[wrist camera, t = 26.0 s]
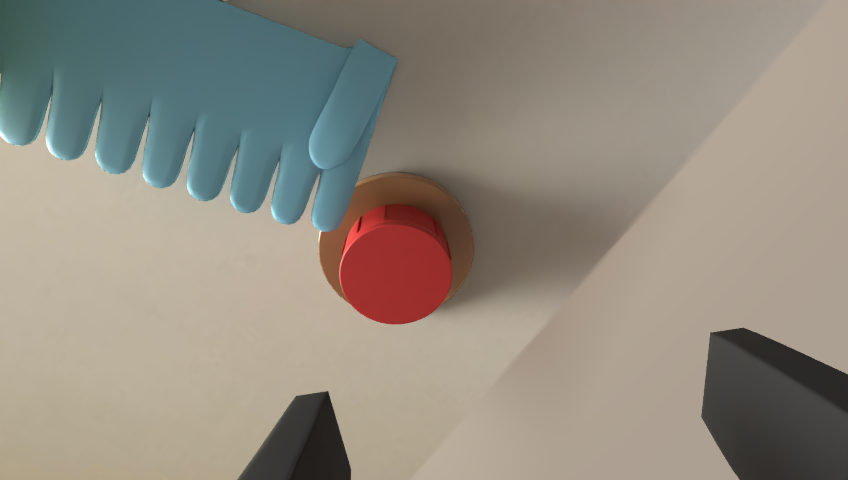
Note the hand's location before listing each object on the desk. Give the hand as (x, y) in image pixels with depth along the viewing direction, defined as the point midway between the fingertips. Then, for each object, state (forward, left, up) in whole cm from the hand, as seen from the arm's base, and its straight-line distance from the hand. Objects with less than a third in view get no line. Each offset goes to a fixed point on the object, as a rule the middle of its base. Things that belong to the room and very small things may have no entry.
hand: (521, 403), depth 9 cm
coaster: (+1, +2, -10) cm, 11 cm away
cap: (+1, +2, -8) cm, 9 cm away
